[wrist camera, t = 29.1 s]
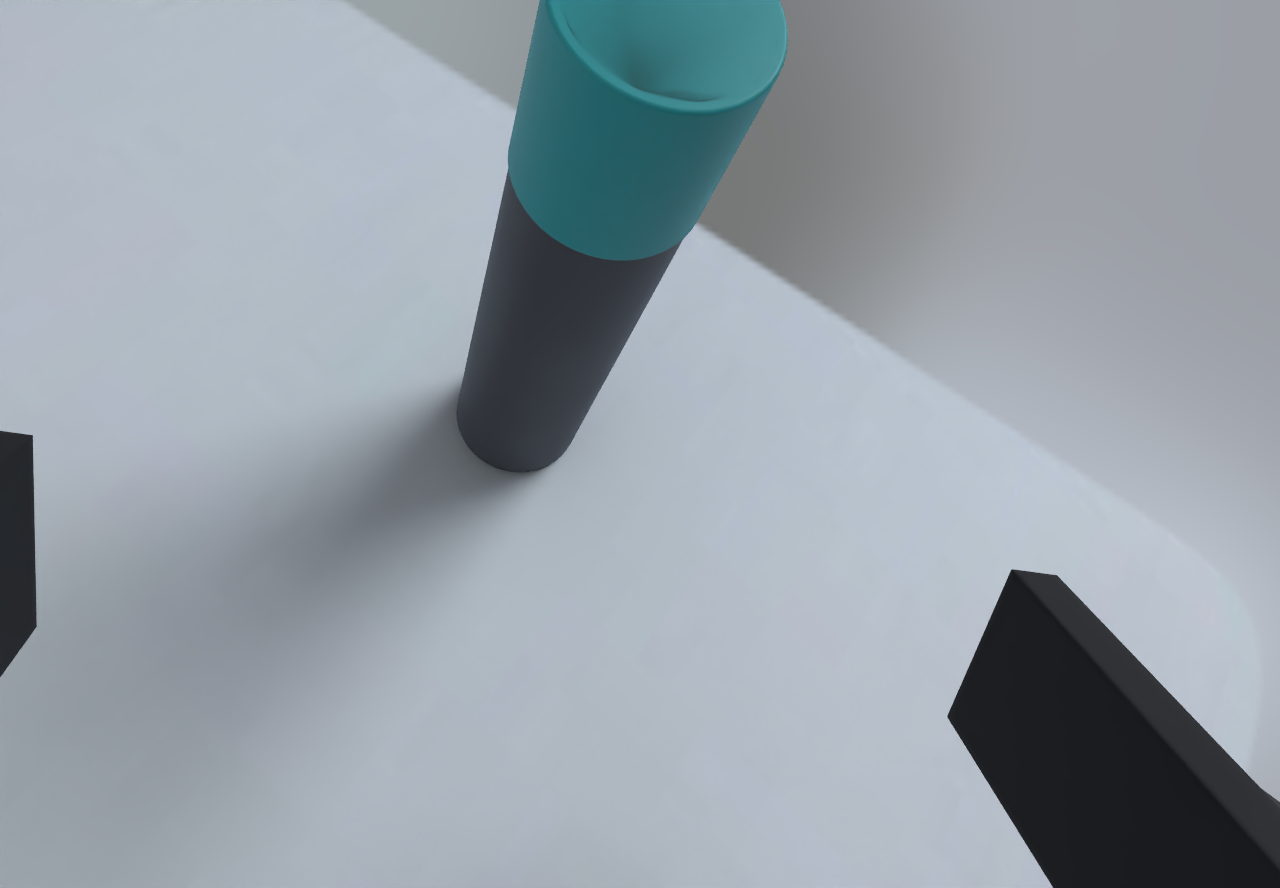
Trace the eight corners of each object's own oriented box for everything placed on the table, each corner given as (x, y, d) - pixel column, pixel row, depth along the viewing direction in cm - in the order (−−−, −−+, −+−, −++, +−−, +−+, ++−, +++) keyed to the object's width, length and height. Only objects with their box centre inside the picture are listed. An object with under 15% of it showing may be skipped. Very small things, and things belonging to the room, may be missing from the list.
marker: (582, 370, 22) (790, -57, 11) (572, 483, 21) (790, 136, 10) (462, 350, 21) (555, -119, 11) (446, 466, 20) (532, 79, 10)
